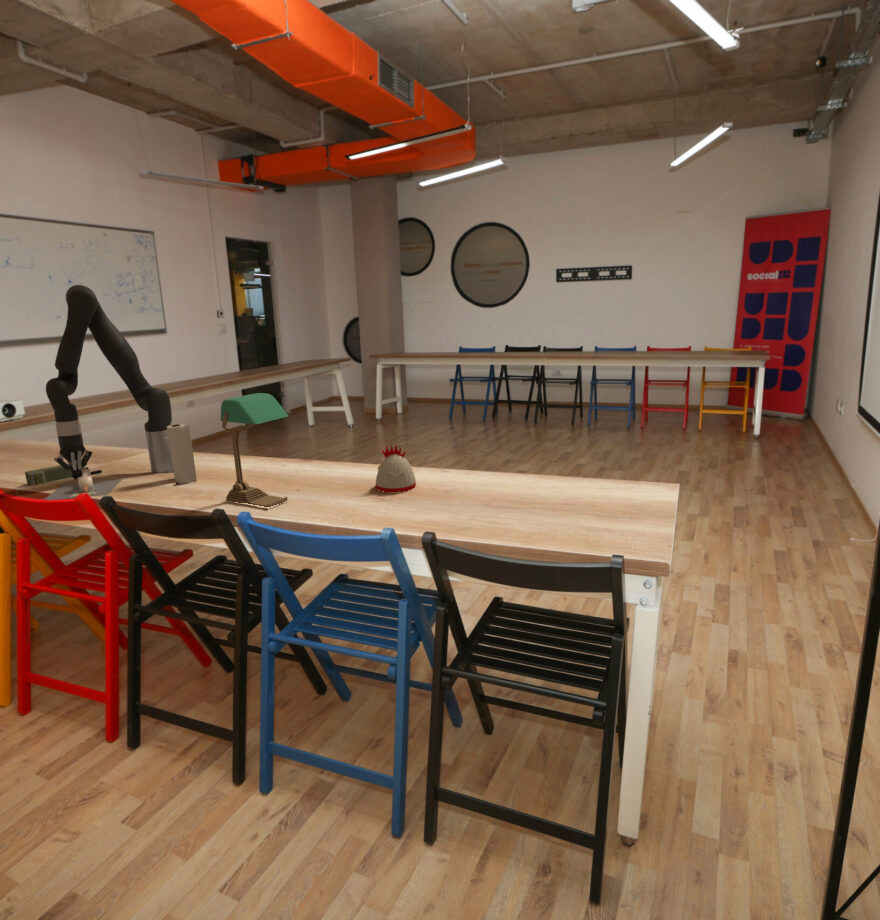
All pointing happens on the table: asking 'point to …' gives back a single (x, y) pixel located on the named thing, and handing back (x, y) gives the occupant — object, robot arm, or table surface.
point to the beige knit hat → (395, 472)
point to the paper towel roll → (181, 453)
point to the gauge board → (73, 490)
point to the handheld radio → (51, 474)
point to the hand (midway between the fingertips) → (77, 479)
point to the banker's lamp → (238, 411)
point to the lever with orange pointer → (85, 481)
